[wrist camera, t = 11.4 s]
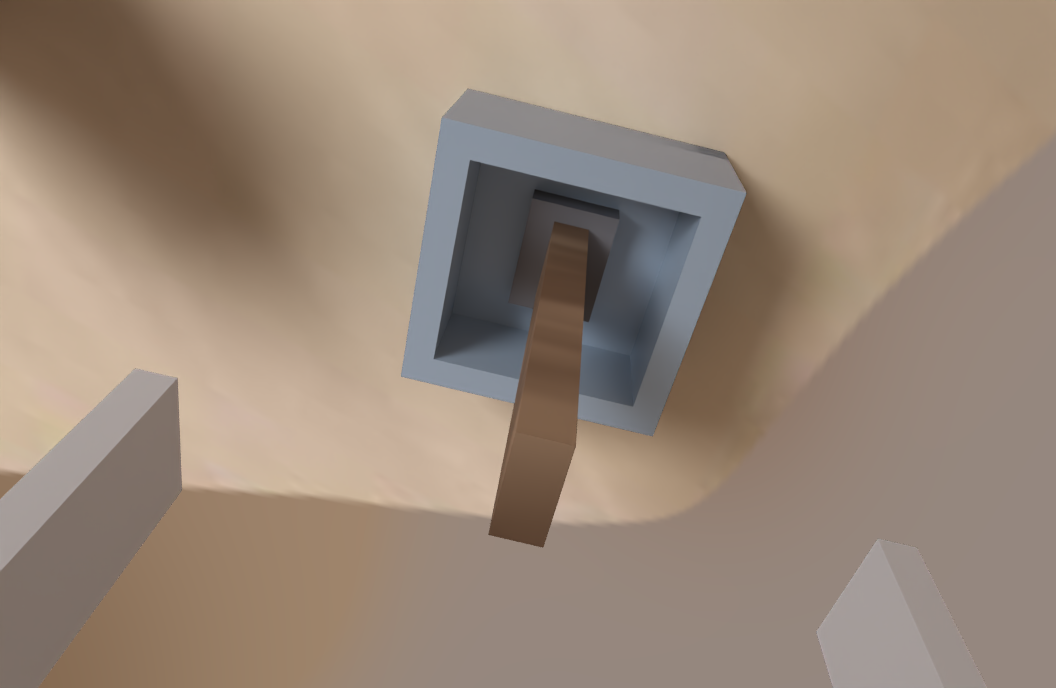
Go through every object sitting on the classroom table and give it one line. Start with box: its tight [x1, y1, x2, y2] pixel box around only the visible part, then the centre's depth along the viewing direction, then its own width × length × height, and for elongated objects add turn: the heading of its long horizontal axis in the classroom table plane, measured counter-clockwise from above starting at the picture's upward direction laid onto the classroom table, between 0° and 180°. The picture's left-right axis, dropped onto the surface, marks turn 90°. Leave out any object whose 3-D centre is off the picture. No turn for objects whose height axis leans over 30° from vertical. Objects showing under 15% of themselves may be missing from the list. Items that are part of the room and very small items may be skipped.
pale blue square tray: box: [401, 89, 746, 436], centre depth 25 cm, size 9×9×4 cm
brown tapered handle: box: [489, 189, 620, 547], centre depth 20 cm, size 4×3×13 cm
